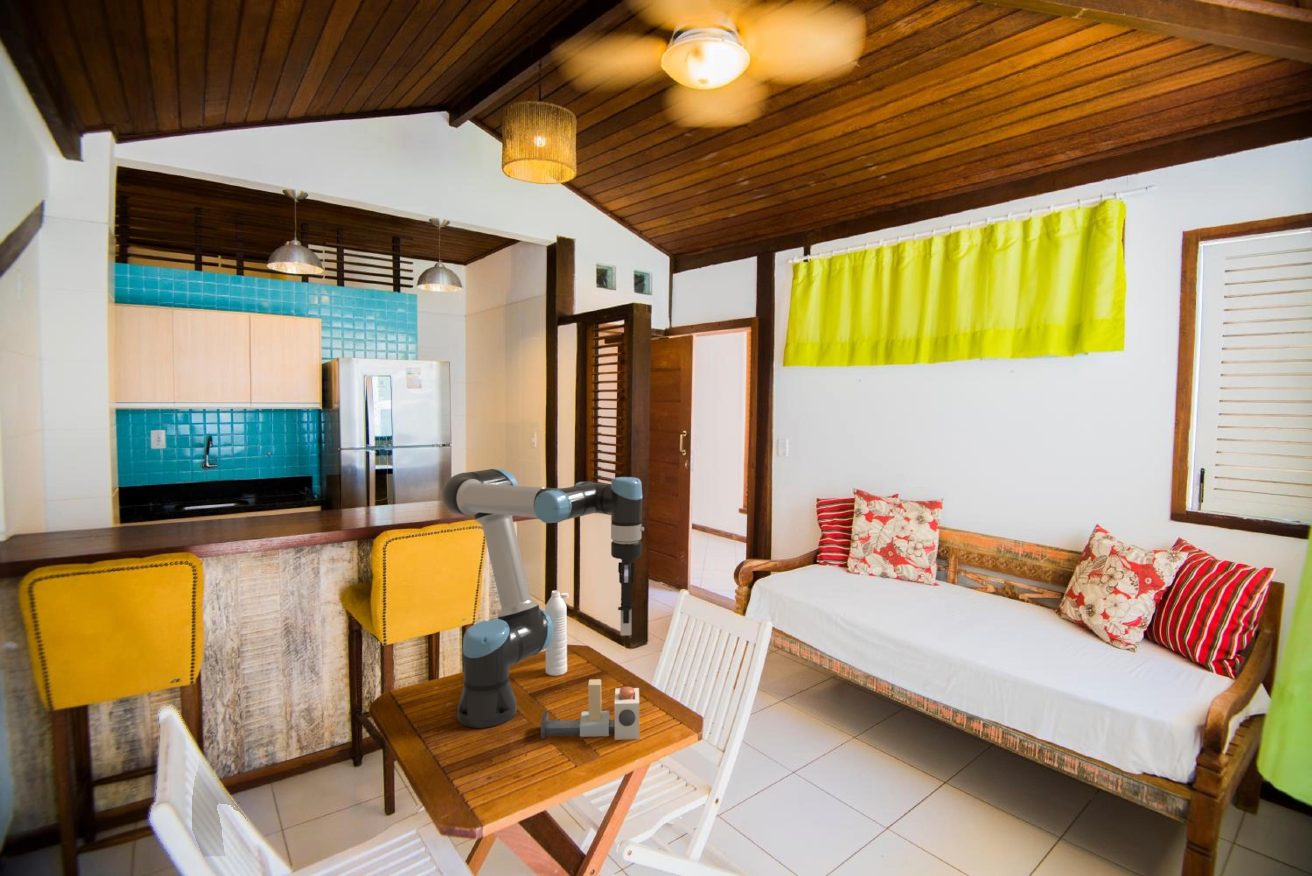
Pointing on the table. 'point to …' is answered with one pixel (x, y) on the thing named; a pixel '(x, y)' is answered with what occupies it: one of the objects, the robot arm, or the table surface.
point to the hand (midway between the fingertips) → (626, 634)
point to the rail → (565, 727)
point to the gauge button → (626, 693)
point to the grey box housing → (626, 716)
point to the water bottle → (557, 635)
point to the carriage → (594, 713)
